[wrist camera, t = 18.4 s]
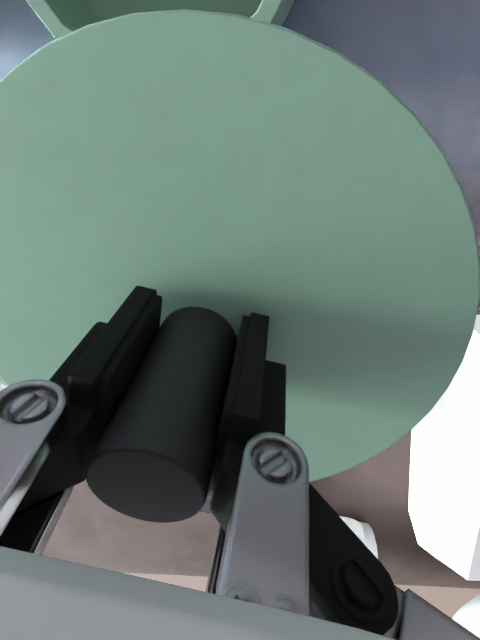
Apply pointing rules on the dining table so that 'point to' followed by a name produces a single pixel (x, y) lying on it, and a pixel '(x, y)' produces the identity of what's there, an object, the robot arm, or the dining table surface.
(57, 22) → the bowl
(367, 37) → the dining table surface
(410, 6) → the dining table surface
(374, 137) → the lid
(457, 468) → the crystal
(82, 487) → the dining table surface
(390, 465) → the dining table surface
